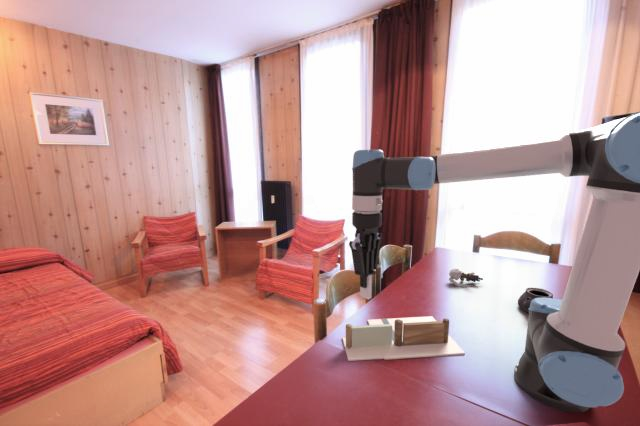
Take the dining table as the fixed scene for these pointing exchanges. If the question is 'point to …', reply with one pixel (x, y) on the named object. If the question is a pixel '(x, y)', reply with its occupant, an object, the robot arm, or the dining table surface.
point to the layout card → (404, 350)
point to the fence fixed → (421, 332)
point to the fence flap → (368, 335)
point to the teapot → (532, 297)
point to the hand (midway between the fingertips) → (365, 297)
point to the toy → (462, 277)
